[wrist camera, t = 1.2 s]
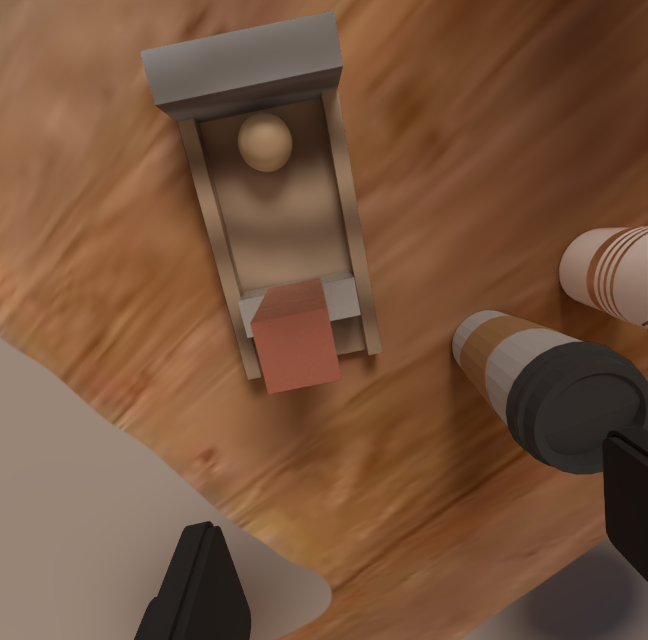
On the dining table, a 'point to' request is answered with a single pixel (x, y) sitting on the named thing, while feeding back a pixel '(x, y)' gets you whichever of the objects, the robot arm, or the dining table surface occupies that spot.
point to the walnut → (265, 142)
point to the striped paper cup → (609, 272)
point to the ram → (298, 328)
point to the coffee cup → (551, 387)
